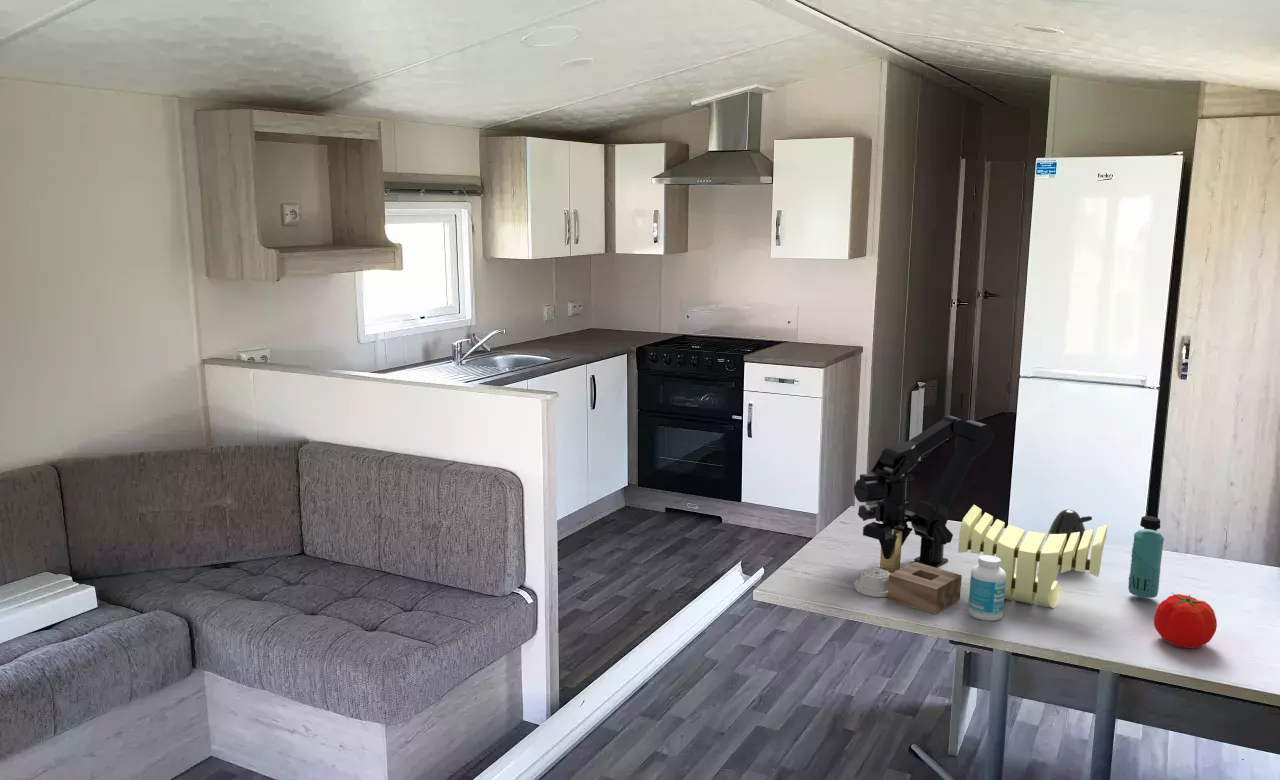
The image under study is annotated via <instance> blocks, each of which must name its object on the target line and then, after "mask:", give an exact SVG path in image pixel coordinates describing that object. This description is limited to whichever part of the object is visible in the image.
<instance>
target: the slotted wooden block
mask: <svg viewBox="0 0 1280 780" xmlns="http://www.w3.org/2000/svg"><path fill="white" fill-rule="evenodd" d="M891 573H892V574H890V575H889V586H888V597H887V600H889V601H892V602H896V603H898V604H901V605H905V606H908V607H911V608H913V609H917V610H921V611H924V612H927V613H929V612H930V614H933V615H936V614H938V613H940V612H942V611H943V610H945V609H946V608H948V607H950V606H952V605H953V604H956V602H958V601H960V600H961V591H962V580H963V579H962V578H963V575H962V574H959V573H955V572H952V571H948V570H945V569H941V568H938V567H934V566H931V565H927V564H924V563H920V562H917V561H913V562H912V563H910V564H908V565H906V566H904V567H902V568H900V569H899V570H897V571H895V572H891Z"/></svg>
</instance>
